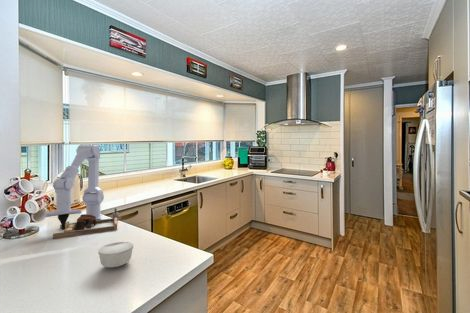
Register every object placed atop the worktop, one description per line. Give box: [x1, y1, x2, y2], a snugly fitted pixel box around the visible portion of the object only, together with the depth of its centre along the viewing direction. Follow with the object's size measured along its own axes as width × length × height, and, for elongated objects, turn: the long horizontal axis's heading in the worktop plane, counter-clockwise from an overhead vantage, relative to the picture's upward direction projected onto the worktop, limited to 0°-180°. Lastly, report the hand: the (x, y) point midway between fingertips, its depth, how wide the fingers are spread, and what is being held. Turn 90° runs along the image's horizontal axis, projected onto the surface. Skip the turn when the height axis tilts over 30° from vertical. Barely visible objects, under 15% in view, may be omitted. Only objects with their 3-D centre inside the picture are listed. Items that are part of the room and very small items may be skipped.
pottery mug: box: [73, 213, 97, 231], centre depth 118 cm, size 12×9×8 cm
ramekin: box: [97, 241, 134, 268], centre depth 81 cm, size 11×11×5 cm
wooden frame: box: [52, 207, 119, 239], centre depth 118 cm, size 18×27×8 cm, turn 118°
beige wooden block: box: [63, 220, 75, 232], centre depth 114 cm, size 11×3×4 cm, turn 28°
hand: (63, 229), depth 113 cm, fingers closed
